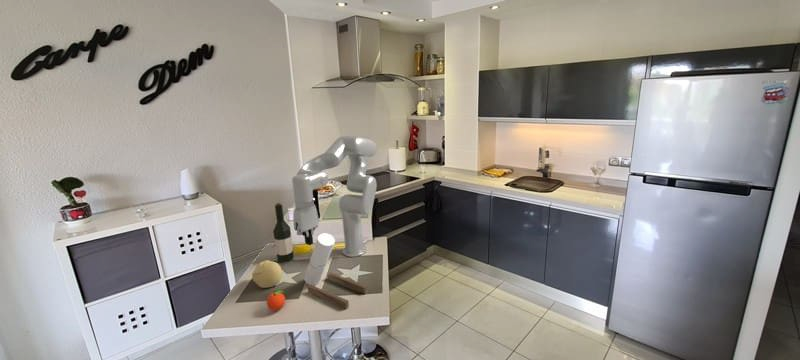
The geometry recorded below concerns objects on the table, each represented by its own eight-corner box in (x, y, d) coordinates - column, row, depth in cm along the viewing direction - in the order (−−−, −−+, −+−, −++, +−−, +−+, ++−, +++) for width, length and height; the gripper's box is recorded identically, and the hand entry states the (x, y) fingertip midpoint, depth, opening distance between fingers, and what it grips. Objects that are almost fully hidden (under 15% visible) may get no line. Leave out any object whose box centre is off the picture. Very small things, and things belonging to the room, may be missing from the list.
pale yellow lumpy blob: (261, 277, 154) (257, 256, 151) (286, 276, 154) (283, 255, 151) (250, 291, 143) (246, 269, 140) (278, 290, 143) (274, 268, 140)
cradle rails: (330, 278, 150) (329, 272, 150) (367, 292, 138) (367, 286, 138) (308, 292, 140) (307, 286, 139) (346, 309, 128) (345, 302, 127)
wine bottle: (289, 263, 166) (281, 207, 158) (274, 262, 167) (265, 206, 160) (297, 255, 173) (290, 201, 166) (283, 254, 175) (275, 201, 167)
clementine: (282, 300, 136) (280, 284, 134) (292, 306, 131) (290, 290, 129) (264, 310, 130) (261, 294, 128) (273, 316, 125) (271, 300, 124)
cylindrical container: (320, 285, 146) (335, 246, 134) (304, 284, 143) (318, 244, 131) (320, 272, 152) (334, 234, 139) (304, 271, 149) (317, 232, 137)
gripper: (312, 197, 146) (316, 235, 150) (283, 207, 134) (289, 248, 139) (324, 200, 142) (328, 239, 146) (295, 210, 130) (301, 252, 134)
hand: (309, 243), depth 142 cm, fingers closed
